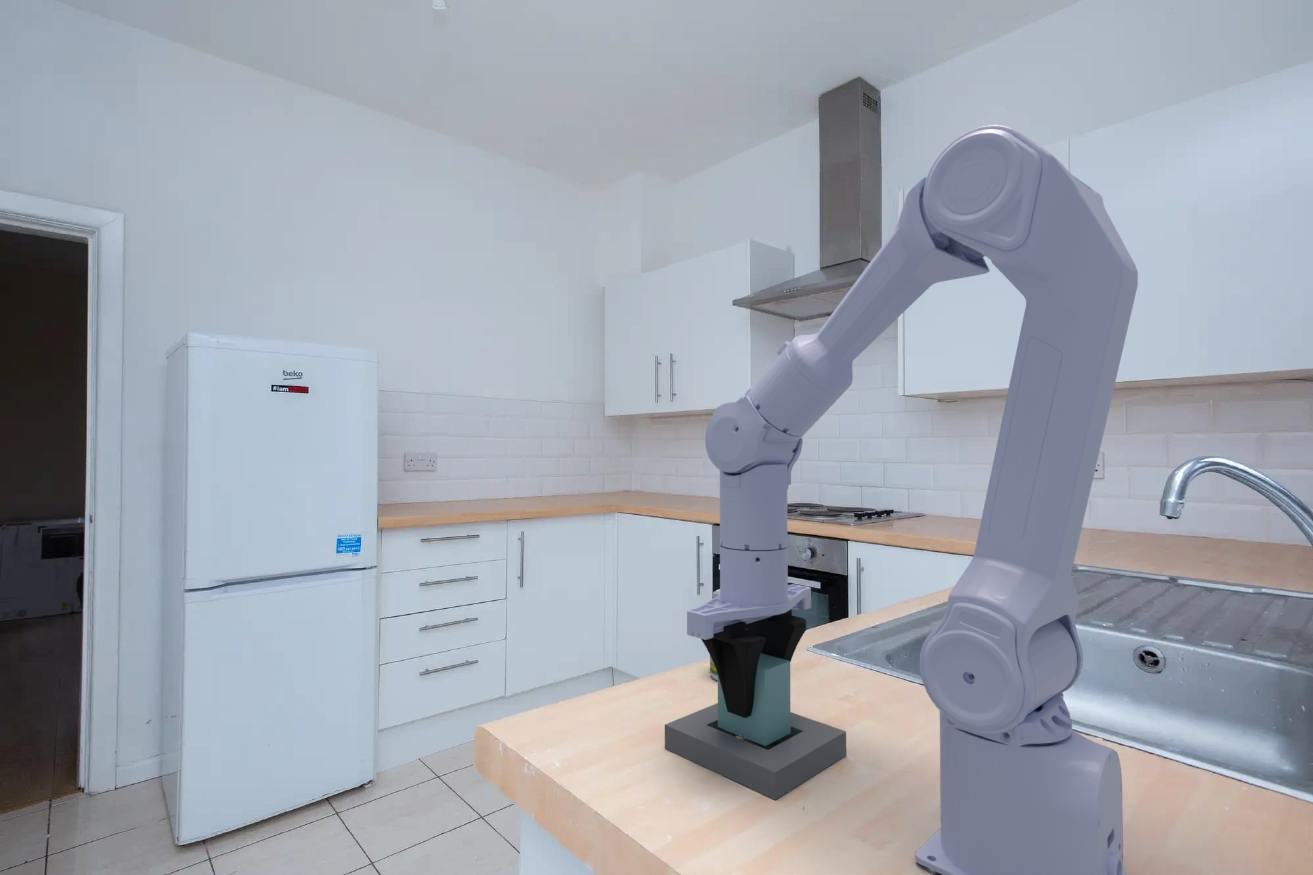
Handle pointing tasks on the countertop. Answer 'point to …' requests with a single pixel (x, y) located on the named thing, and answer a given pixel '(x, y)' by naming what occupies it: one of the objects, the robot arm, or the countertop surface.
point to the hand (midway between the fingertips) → (754, 706)
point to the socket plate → (757, 751)
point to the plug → (763, 704)
